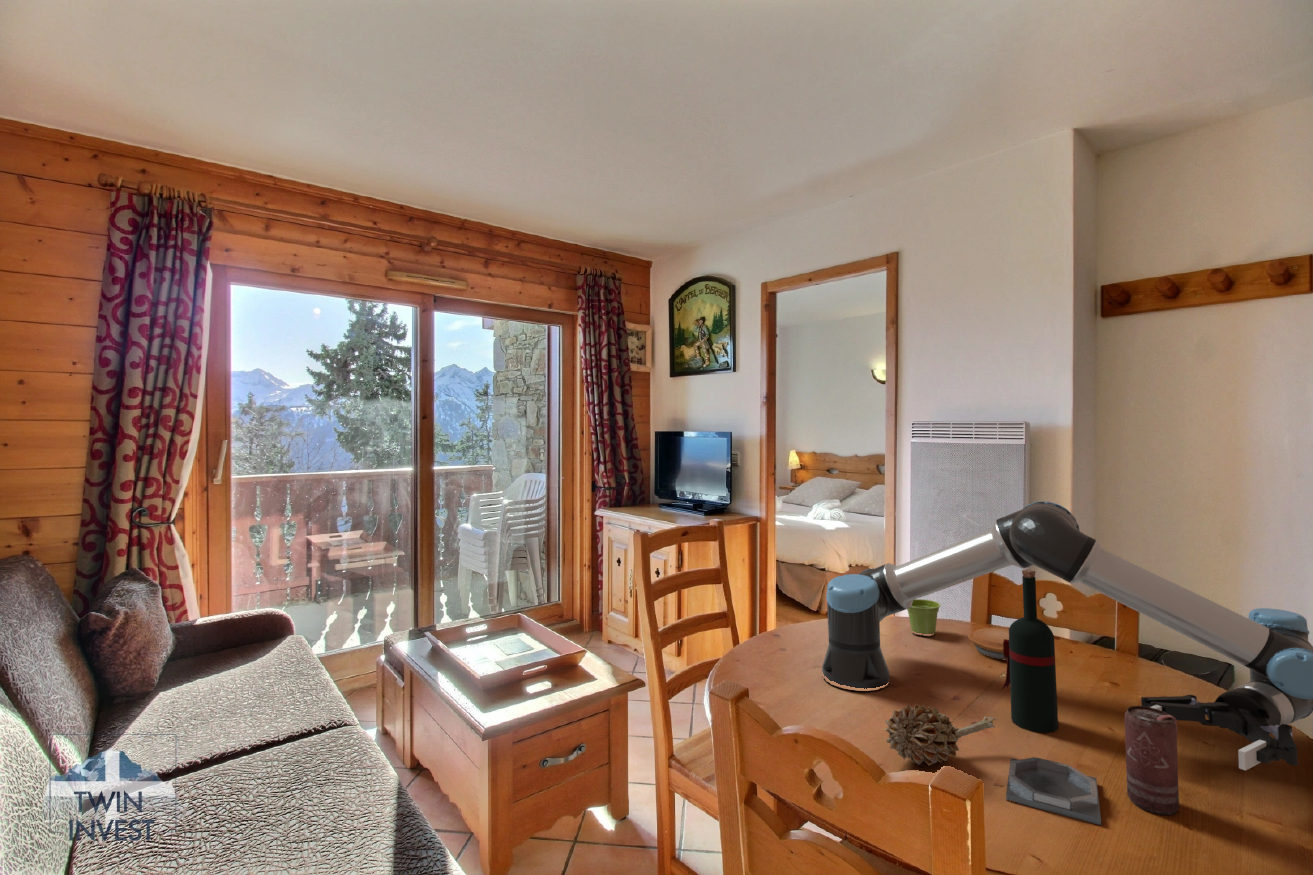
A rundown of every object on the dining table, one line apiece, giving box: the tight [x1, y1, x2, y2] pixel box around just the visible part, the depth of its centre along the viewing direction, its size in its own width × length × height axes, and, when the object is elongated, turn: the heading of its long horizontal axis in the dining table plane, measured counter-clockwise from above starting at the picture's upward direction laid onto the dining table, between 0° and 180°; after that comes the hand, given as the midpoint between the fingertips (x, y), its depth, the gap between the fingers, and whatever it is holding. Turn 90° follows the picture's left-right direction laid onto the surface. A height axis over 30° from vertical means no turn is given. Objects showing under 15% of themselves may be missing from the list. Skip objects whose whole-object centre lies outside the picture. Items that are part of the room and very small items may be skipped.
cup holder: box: [1005, 757, 1102, 826], centre depth 96 cm, size 12×12×2 cm
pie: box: [968, 627, 1009, 661], centre depth 154 cm, size 15×16×5 cm
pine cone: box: [883, 703, 997, 766], centre depth 107 cm, size 22×10×10 cm, turn 109°
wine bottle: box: [1001, 568, 1059, 734], centre depth 119 cm, size 8×10×30 cm
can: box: [1124, 705, 1180, 816], centre depth 92 cm, size 6×6×14 cm
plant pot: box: [906, 598, 941, 634], centre depth 170 cm, size 9×9×9 cm
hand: (1186, 739), depth 96 cm, fingers open, 13 cm apart
